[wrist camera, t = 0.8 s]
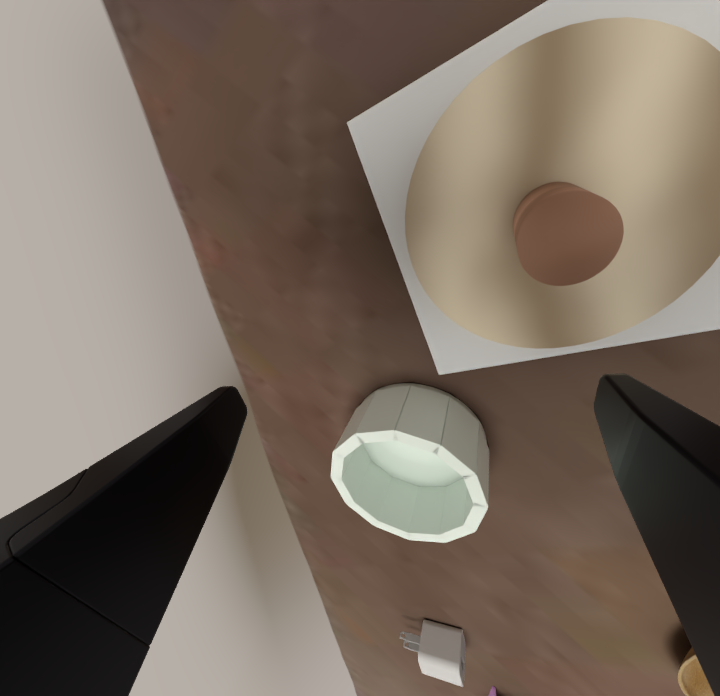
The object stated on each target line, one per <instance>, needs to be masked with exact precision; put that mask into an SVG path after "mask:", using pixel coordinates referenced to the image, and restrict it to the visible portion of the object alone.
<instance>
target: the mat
mask: <svg viewBox="0 0 720 696" xmlns="http://www.w3.org/2000/svg"><path fill="white" fill-rule="evenodd" d="M622 17H631V18H640V19H650V20H657V21H660V22H664V23H667V24H671V25H674V26H678V27H681V28H683V29H685V30H687V31H689V32H691V33H693V34H695V35H697V36H699V37H701V38H703V39H705V40H706V41H708V42H709V43H710V44H711V45H712V46H714V47H715V48H716V49H717V50H719V51H720V0H548V1H546V2H544V3H543V4H541V5H539V6H538V7H536V8H534V9H533V10H531V11H529V12H528V13H526V14H525V15H523V16H521V17H520V18H518V19H516V20H515V21H513V22H511V23H510V24H508V25H506V26H505V27H503V28H501V29H500V30H498V31H497V32H495V33H493V34H492V35H490V36H488V37H487V38H485V39H483V40H482V41H480V42H478V43H477V44H475V45H474V46H472V47H470V48H469V49H467V50H465V51H464V52H462V53H460V54H459V55H457V56H455V57H454V58H452V59H450V60H449V61H447V62H446V63H444V64H442V65H441V66H439V67H437V68H436V69H434V70H432V71H431V72H429V73H427V74H426V75H424V76H423V77H421V78H419V79H418V80H416V81H414V82H413V83H411V84H409V85H408V86H406V87H404V88H403V89H401V90H399V91H398V92H396V93H395V94H393V95H391V96H390V97H388V98H386V99H385V100H383V101H381V102H380V103H378V104H376V105H375V106H373V107H371V108H370V109H368V110H367V111H365V112H363V113H362V114H360V115H358V116H357V117H355V118H353V119H352V120H350V121H348V122H347V125H348V127H349V130H350V133H351V136H352V138H353V141H354V144H355V147H356V149H357V152H358V155H359V158H360V160H361V163H362V166H363V168H364V171H365V174H366V177H367V179H368V182H369V185H370V188H371V190H372V193H373V196H374V199H375V201H376V204H377V207H378V209H379V212H380V215H381V218H382V220H383V223H384V226H385V229H386V231H387V234H388V237H389V240H390V242H391V245H392V248H393V251H394V253H395V256H396V259H397V261H398V264H399V267H400V270H401V272H402V275H403V278H404V281H405V283H406V286H407V289H408V292H409V294H410V297H411V300H412V302H413V305H414V308H415V311H416V313H417V316H418V319H419V322H420V324H421V327H422V330H423V333H424V335H425V338H426V341H427V344H428V346H429V349H430V352H431V354H432V357H433V360H434V363H435V365H436V368H437V371H438V374H439V375H442V374H448V373H454V372H460V371H467V370H473V369H479V368H485V367H491V366H497V365H503V364H509V363H515V362H521V361H528V360H534V359H540V358H546V357H552V356H558V355H564V354H570V353H576V352H582V351H589V350H595V349H601V348H607V347H613V346H619V345H625V344H631V343H637V342H644V341H650V340H656V339H662V338H668V337H674V336H680V335H686V334H692V333H698V332H705V331H711V330H717V329H720V256H719V257H718V258H717V259H716V261H715V262H714V263H713V265H712V266H711V267H710V268H709V269H708V270H707V271H706V272H705V273H704V275H703V276H702V277H701V278H700V279H699V280H698V281H697V282H696V283H695V284H694V285H693V286H692V287H691V288H689V289H688V290H687V291H686V292H685V293H683V294H682V295H681V296H680V297H679V298H678V299H676V300H675V301H674V302H673V303H671V304H670V305H668V306H667V307H665V308H664V309H662V310H661V311H659V312H658V313H656V314H655V315H653V316H652V317H650V318H648V319H646V320H644V321H642V322H641V323H639V324H637V325H635V326H633V327H631V328H629V329H626V330H624V331H622V332H619V333H617V334H615V335H612V336H609V337H606V338H603V339H600V340H597V341H594V342H589V343H585V344H580V345H576V346H569V347H561V348H542V349H535V348H522V347H515V346H510V345H504V344H500V343H497V342H494V341H490V340H487V339H485V338H482V337H480V336H478V335H475V334H473V333H471V332H469V331H468V330H466V329H464V328H462V327H461V326H459V325H458V324H456V323H455V322H454V321H452V320H451V319H450V318H448V317H447V316H446V315H445V314H444V313H443V312H442V311H441V310H440V309H439V308H438V307H437V306H436V305H435V304H434V303H433V301H432V300H431V299H430V298H429V296H428V295H427V294H426V292H425V290H424V289H423V287H422V285H421V284H420V282H419V280H418V278H417V276H416V273H415V271H414V269H413V266H412V263H411V260H410V256H409V252H408V248H407V241H406V234H405V210H406V200H407V194H408V189H409V185H410V180H411V176H412V174H413V171H414V168H415V165H416V162H417V159H418V157H419V154H420V152H421V150H422V148H423V146H424V144H425V142H426V140H427V138H428V136H429V134H430V133H431V131H432V130H433V128H434V126H435V125H436V123H437V121H438V120H439V118H440V117H441V116H442V114H443V113H444V112H445V110H446V109H447V108H448V107H449V105H450V104H451V103H452V101H453V100H454V99H455V98H456V97H457V96H458V95H459V94H460V93H461V91H462V90H463V89H464V88H465V87H466V86H467V85H468V84H469V83H470V82H471V81H472V80H473V79H474V78H476V77H477V76H478V75H479V74H480V73H482V72H483V71H484V70H485V69H486V68H488V67H489V66H490V65H491V64H492V63H494V62H495V61H497V60H498V59H500V58H501V57H503V56H504V55H506V54H507V53H509V52H510V51H512V50H514V49H515V48H517V47H518V46H520V45H522V44H524V43H526V42H528V41H530V40H532V39H534V38H536V37H538V36H541V35H543V34H545V33H548V32H551V31H554V30H557V29H559V28H562V27H565V26H568V25H571V24H576V23H581V22H586V21H591V20H596V19H604V18H622Z"/></svg>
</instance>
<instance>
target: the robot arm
mask: <svg viewBox="0 0 720 696" xmlns="http://www.w3.org/2000/svg"><path fill="white" fill-rule="evenodd" d="M594 411H595V415H596V419H597V422H598V425H599V428H600V431H601V434H602V438H603V441H604V444H605V447H606V450H607V453H608V457H609V460H610V463H611V466H612V469H613V472H614V475H615V478H616V481H617V483H618V485H619V488H620V490H621V492H622V495H623V497H624V499H625V501H626V503H627V505H628V508H629V510H630V512H631V514H632V516H633V519H634V521H635V523H636V525H637V527H638V530H639V532H640V534H641V536H642V538H643V541H644V543H645V545H646V547H647V549H648V552H649V554H650V556H651V558H652V560H653V562H654V565H655V567H656V569H657V571H658V573H659V576H660V578H661V580H662V582H663V584H664V587H665V589H666V591H667V593H668V595H669V598H670V600H671V602H672V604H673V606H674V608H675V611H676V613H677V615H678V617H679V619H680V622H681V624H682V626H683V628H684V630H685V633H686V635H687V637H688V639H689V641H690V644H691V646H692V648H693V650H694V652H695V655H696V657H697V659H698V661H699V663H700V665H701V668H702V670H703V672H704V674H705V676H706V679H707V681H708V683H709V685H710V687H711V690H712V692H713V694H714V696H720V426H718V425H716V424H714V423H713V422H711V421H709V420H707V419H706V418H704V417H702V416H700V415H699V414H697V413H695V412H693V411H691V410H690V409H688V408H686V407H684V406H683V405H681V404H679V403H677V402H675V401H674V400H672V399H670V398H668V397H667V396H665V395H663V394H661V393H659V392H658V391H656V390H654V389H652V388H651V387H649V386H647V385H645V384H643V383H642V382H640V381H638V380H636V379H635V378H633V377H631V376H629V375H627V374H604V375H602V376H601V378H600V380H599V384H598V388H597V393H596V397H595V401H594ZM246 416H247V407H246V405H245V403H244V401H243V399H242V397H241V395H240V394H239V392H238V390H237V389H236V388H235V387H233V386H224V387H220V388H217V389H216V390H214V391H213V392H211V393H209V394H208V395H206V396H205V397H203V398H201V399H200V400H198V401H196V402H195V403H193V404H191V405H190V406H188V407H186V408H185V409H183V410H182V411H180V412H178V413H177V414H175V415H173V416H172V417H170V418H169V419H167V420H165V421H164V422H162V423H160V424H159V425H157V426H155V427H154V428H152V429H150V430H149V431H147V432H146V433H144V434H142V435H141V436H139V437H137V438H136V439H134V440H132V441H131V442H129V443H128V444H126V445H124V446H123V447H121V448H119V449H118V450H116V451H114V452H113V453H111V454H110V455H108V456H107V457H105V458H103V459H101V460H100V461H98V462H96V463H95V464H93V465H92V466H90V467H89V468H88V469H85V470H83V471H82V472H80V473H78V474H77V475H75V476H73V477H72V478H70V479H69V480H67V481H65V482H64V483H62V484H60V485H58V486H57V487H55V488H54V489H52V490H50V491H48V492H47V493H45V494H43V495H42V496H40V497H38V498H36V499H35V500H33V501H31V502H29V503H28V504H26V505H24V506H22V507H21V508H19V509H17V510H15V511H14V512H12V513H10V514H8V515H6V516H5V517H3V518H1V519H0V696H128V695H129V693H130V691H131V688H132V686H133V684H134V682H135V680H136V677H137V675H138V672H139V670H140V668H141V666H142V664H143V661H144V659H145V657H146V655H147V652H148V650H149V648H150V647H149V645H150V644H151V643H152V640H153V638H154V636H155V634H156V631H157V629H158V627H159V624H160V622H161V620H162V618H163V615H164V613H165V611H166V609H167V606H168V604H169V602H170V600H171V598H172V595H173V593H174V590H175V588H176V586H177V584H178V581H179V579H180V577H181V575H182V573H183V570H184V568H185V566H186V564H187V561H188V559H189V557H190V555H191V552H192V550H193V548H194V546H195V543H196V541H197V539H198V537H199V534H200V532H201V529H202V527H203V525H204V523H205V521H206V518H207V516H208V514H209V512H210V509H211V507H212V505H213V502H214V500H215V498H216V496H217V494H218V491H219V489H220V487H221V484H222V482H223V480H224V478H225V475H226V473H227V471H228V469H229V466H230V464H231V461H232V458H233V455H234V452H235V449H236V446H237V443H238V440H239V437H240V434H241V431H242V428H243V425H244V422H245V419H246Z"/></svg>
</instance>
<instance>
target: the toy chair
mask: <svg viewBox="0 0 720 696" xmlns="http://www.w3.org/2000/svg"><path fill="white" fill-rule="evenodd" d="M489 696H496V688H495V687H494V686H492V688H491V691H490V694H489Z"/></svg>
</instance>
